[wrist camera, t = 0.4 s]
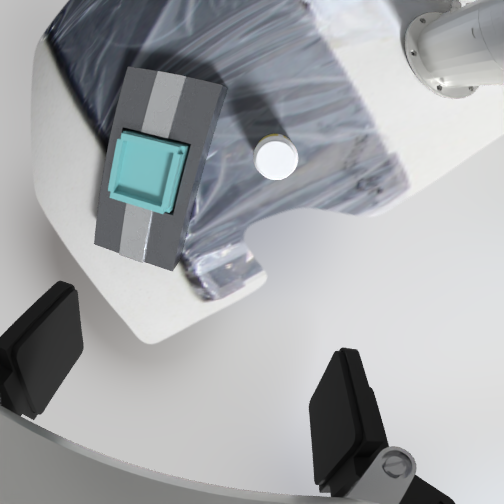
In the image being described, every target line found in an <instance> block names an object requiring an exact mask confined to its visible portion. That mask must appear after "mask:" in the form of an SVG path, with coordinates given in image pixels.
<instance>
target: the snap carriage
mask: <svg viewBox="0 0 504 504" xmlns="http://www.w3.org/2000/svg"><path fill="white" fill-rule="evenodd" d="M189 148H190V145H187V144H184V143H180V142H176V141H172V140H168V139H164V138H160V137H156V136H152V135H148V134H144V133H140V132H136V131H131V130H128V131H123V133H122V134H121V138H120V139H117V143H116V148H115V153H114V158H113V163H112V169H111V175H110V180H109V187H108V191H110V198H112V199H115V200H119V201H122V202H125V203H128V204H132V205H135V206H138V207H141V208H144V209H148V210H151V211H154V212H157V213H161V214H164V213H165V212H169V213H170V212H171V211H172V210H173V209H174V208H175V203H176V199H177V195H178V191H179V187H180V183H181V179H182V175H183V171H184V167H185V163H186V160H187V156H188V152H189Z"/></svg>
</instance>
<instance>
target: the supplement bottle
mask: <svg viewBox="0 0 504 504" xmlns="http://www.w3.org/2000/svg"><path fill="white" fill-rule="evenodd" d="M253 161H254V165H255V167H256V169H257V170H258V171H259V172H260V173H261V174H262V175H263V176H265V177H266V178H268V179H272V180H280V179H284V178H286V177H287V176H289V175H290V174H291V173H292V172H293V171H294V170H295V168H296V166H297V163H298V152H297V149H296V147H295V146H294V144H293V143H292V142H291V141H290V140H289V139H288V138H287V137H286V136H284V135H281V134H269V135H266V136H265V137H263V138H262V139H261V140H260V141H259V143H258V144H257V146H256V147H255V150H254V153H253Z"/></svg>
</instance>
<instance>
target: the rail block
mask: <svg viewBox="0 0 504 504" xmlns="http://www.w3.org/2000/svg"><path fill="white" fill-rule="evenodd" d="M227 89H228V88H226V87H225V86H223V85H220V84H216V83H212V82H208V81H204V80H199V79H195V78H190V77H186V76H182V75H177V74H171V73H166V72H161V71H154V70H148V69H141V68H135V67H128V68H127V71H126V75H125V78H124V82H123V85H122V89H121V93H120V96H119V100H118V104H117V108H116V112H115V117H114V121H113V125H112V130H111V135H110V139H109V144H108V149H107V155H106V160H105V166H104V171H103V177H102V184H101V190H100V197H99V205H98V213H97V221H96V231H95V241H94V244H95V245H98V246H101V247H104V248H106V249H109V250H112V251H115V252H118V253H119V255H121V256H124V257H127V258H130V259H133V260H136V261H139V262H146V263H149V264H152V265H155V266H158V267H161V268H164V269H167V270H170V271H173V270H174V268H175V267H176V265H177V264H178V262H179V261H180V259H181V255H182V251H183V247H184V242H185V238H186V234H187V230H188V226H189V222H190V218H191V214H192V210H193V206H194V202H195V199H196V195H197V191H198V187H199V184H200V180H201V176H202V173H203V169H204V165H205V162H206V158H207V155H208V151H209V148H210V144H211V141H212V138H213V134H214V131H215V128H216V124H217V121H218V118H219V115H220V111H221V108H222V105H223V102H224V99H225V96H226V92H227ZM128 130H131V131H136V132H140V133H144V134H148V135H152V136H156V137H160V138H164V139H168V140H172V141H176V142H180V143H184V144H187V145H190V148H189V152H188V156H187V160H186V163H185V167H184V171H183V175H182V179H181V183H180V187H179V191H178V195H177V199H176V203H175V208H174V209H173V210H172V211H171V212H170V213H169V212H165V213H164V214H161V213H157V212H154V211H151V210H148V209H144V208H141V207H138V206H135V205H132V204H128V203H125V202H122V201H119V200H115V199H112V198H110V191H108V187H109V180H110V175H111V169H112V163H113V158H114V153H115V148H116V143H117V139H120V138H121V134H122V133H123V131H128Z"/></svg>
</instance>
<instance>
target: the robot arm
mask: <svg viewBox="0 0 504 504" xmlns="http://www.w3.org/2000/svg"><path fill="white" fill-rule="evenodd" d="M421 22H422V23H421ZM405 51H406V55H407V59H408V61H409V64H410V66H411V68H412V70H413V71H414V73H415V75H416V76H417V77H418V79H419V80H420V81H421V82H422V83H423V84H424V85H425V86H426V87H427V88H428V89H429V90H431V91H433V92H434V93H436V94H437V95H440V96H442V97H445V98H450V99H460V98H465V97H468V96H470V95H471V94H473V93H474V92H475V91H476V90H477V89H478V87H479V86H485V85H504V0H476V1H474V2H472V3H466V5H465V6H463V7H461V3H460V2H459V1H457V0H452V4H451V10H449V11H448V12H446V13H444V14H443V13H438V12H429V13H424V14H422V15H420V16H418V17H417V18H415V19H414V20H413V21H412V22H411V23H410V25H409V27H408V28H407V31H406V35H405ZM411 53H413V55H412V54H411ZM437 88H438V89H437ZM82 351H83V338H82V331H81V321H80V312H79V302H78V292H77V290H75V288H74V286H73V285H72V284H69V283H66V282H63V281H58V282H57V283H56V284H54V285H53V286H52V287H51V288H50V289H49V290H48V291H47V292H46V293H45V294H44V295H42V297H40V298H39V299H38V300H37V301H36V302H35V303H34V304H33V305H32V306H31V307H30V308H29V309H28V310H27V311H26V312H25V313H24V314H23V315H22V316H21V317H20V318H18V319H17V321H15V322H14V324H12V326H10V327H9V328H8V330H7V331H6V332H5V333H4V334H3V335H2V336H1V337H0V504H455V503H454V501H453V500H452V499H451V498H450V497H448V496H446V495H445V494H443V493H442V492H440V491H439V490H437V489H436V488H434V487H433V486H431V485H430V484H428V483H427V482H425V481H424V480H422V479H421V478H419V477H418V476H416V475H415V473H416V463H415V460H414V458H413V457H412V455H411V454H410V453H409V452H407V451H406V450H404V449H402V448H400V447H389V445H388V441H387V437H386V434H385V430H384V426H383V423H382V419H381V416H380V412H379V408H378V405H377V401H376V398H375V395H374V392H373V390H372V388H371V387H369V384H368V381H367V378H366V374H365V371H364V368H363V364H362V361H361V358H360V355H359V352H358V351H357V350H356V349H349V348H341V349H340V350H339V351H335V352H334V354H333V356H332V358H331V360H330V362H329V364H328V366H327V368H326V370H325V373H324V374H323V376H322V379H321V381H320V382H319V384H318V386H317V388H316V390H315V392H314V394H313V396H312V398H311V400H310V404H309V414H310V427H311V439H312V452H313V467H314V481H315V484H316V485H319V490H320V493H331V497H320V496H301V495H288V494H277V493H266V492H258V491H249V490H242V489H235V488H229V487H223V486H217V485H212V484H207V483H202V482H197V481H192V480H188V479H184V478H179V477H175V476H171V475H167V474H164V473H160V472H156V471H153V470H149V469H146V468H143V467H139V466H136V465H133V464H130V463H127V462H124V461H121V460H118V459H115V458H112V457H110V456H107V455H104V454H101V453H99V452H96V451H93V450H91V449H88V448H86V447H84V446H81V445H79V444H77V443H74V442H72V441H70V440H67V439H65V438H63V437H61V436H58V435H56V434H54V433H52V432H50V431H48V430H46V429H44V428H42V427H40V426H38V425H36V424H34V423H32V422H30V421H28V420H26V419H24V418H22V417H21V415H22V414H24V415H25V416H27V417H29V418H31V419H33V420H34V419H35V418H36V416H37V415H38V414H42V413H43V411H44V410H45V408H46V406H47V405H48V403H49V402H50V400H51V399H52V397H53V395H54V394H55V392H56V391H57V389H58V388H59V386H60V385H61V383H62V382H63V380H64V379H65V377H66V376H67V374H68V373H69V371H70V370H71V368H72V367H73V365H74V364H75V362H76V361H77V360H78V358H79V357H80V355H81V354H82Z"/></svg>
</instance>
